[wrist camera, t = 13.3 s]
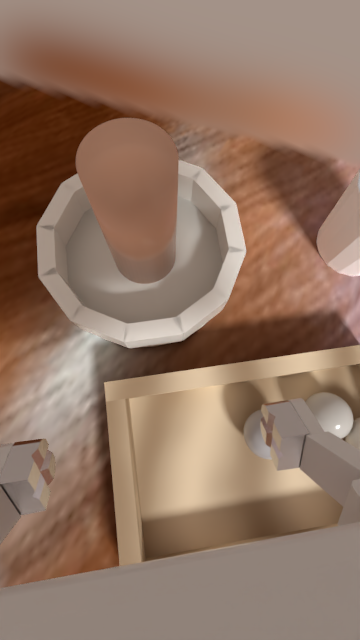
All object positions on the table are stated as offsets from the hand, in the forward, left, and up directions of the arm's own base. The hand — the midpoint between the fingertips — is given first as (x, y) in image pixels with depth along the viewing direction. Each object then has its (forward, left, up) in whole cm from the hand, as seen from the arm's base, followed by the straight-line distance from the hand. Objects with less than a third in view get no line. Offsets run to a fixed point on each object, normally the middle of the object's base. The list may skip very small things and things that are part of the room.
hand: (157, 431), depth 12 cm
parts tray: (-6, +3, -10) cm, 13 cm away
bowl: (0, -12, -10) cm, 16 cm away
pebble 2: (-12, +2, -8) cm, 14 cm away
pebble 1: (-5, +2, -9) cm, 10 cm away
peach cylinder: (0, -12, -10) cm, 16 cm away
